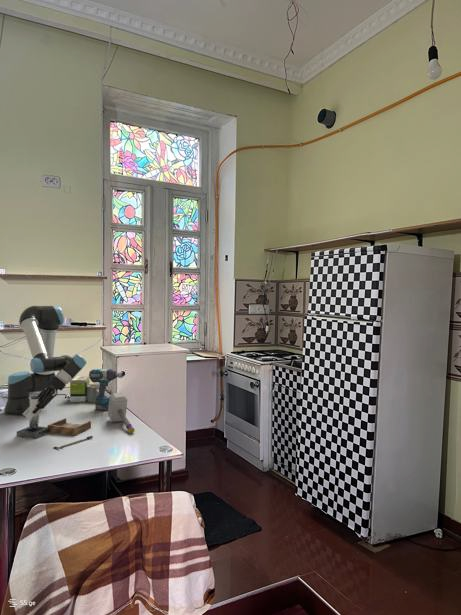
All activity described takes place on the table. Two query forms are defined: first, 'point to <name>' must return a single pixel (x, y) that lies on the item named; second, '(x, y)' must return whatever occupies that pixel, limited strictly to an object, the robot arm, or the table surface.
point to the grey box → (92, 392)
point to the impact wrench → (103, 385)
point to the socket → (33, 432)
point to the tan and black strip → (72, 443)
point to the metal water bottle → (35, 419)
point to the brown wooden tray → (68, 427)
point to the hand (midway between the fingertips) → (26, 416)
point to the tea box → (79, 388)
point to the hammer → (119, 410)
